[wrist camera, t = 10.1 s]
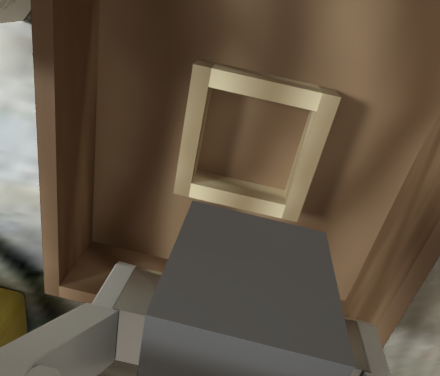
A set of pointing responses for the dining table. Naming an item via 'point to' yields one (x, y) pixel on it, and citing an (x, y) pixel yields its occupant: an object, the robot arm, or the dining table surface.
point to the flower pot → (12, 316)
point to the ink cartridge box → (14, 10)
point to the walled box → (240, 134)
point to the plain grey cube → (245, 301)
